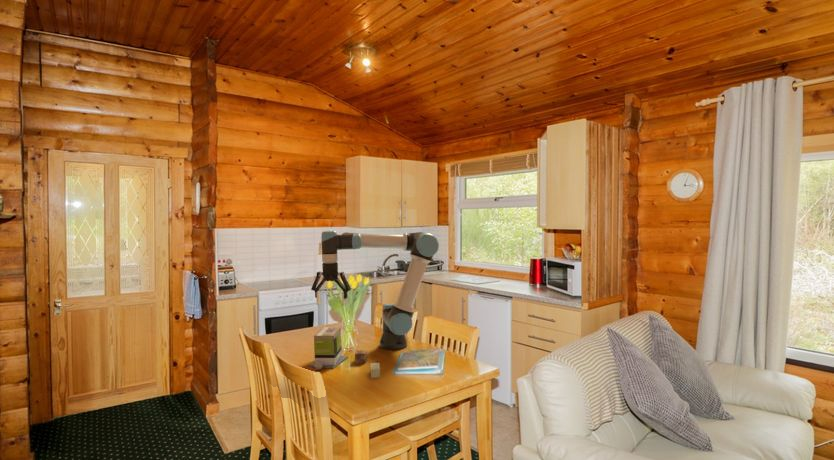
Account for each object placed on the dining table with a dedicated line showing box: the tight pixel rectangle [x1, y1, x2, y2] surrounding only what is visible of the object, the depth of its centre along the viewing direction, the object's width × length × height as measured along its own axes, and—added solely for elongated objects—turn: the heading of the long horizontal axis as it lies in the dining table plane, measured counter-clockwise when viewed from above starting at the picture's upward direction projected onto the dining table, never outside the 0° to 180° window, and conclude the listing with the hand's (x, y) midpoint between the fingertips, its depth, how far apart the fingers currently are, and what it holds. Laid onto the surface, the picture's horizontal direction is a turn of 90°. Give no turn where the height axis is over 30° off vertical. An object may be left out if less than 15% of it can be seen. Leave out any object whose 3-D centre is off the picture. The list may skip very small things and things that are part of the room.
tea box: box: [313, 326, 343, 365], centre depth 226 cm, size 15×10×15 cm
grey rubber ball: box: [313, 361, 323, 370], centre depth 216 cm, size 4×4×4 cm
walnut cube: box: [354, 349, 368, 365], centre depth 227 cm, size 5×5×5 cm
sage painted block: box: [370, 362, 381, 379], centre depth 210 cm, size 4×8×4 cm, turn 6°
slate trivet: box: [308, 355, 349, 370], centre depth 227 cm, size 13×16×1 cm
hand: (331, 304), depth 230 cm, fingers open, 13 cm apart
